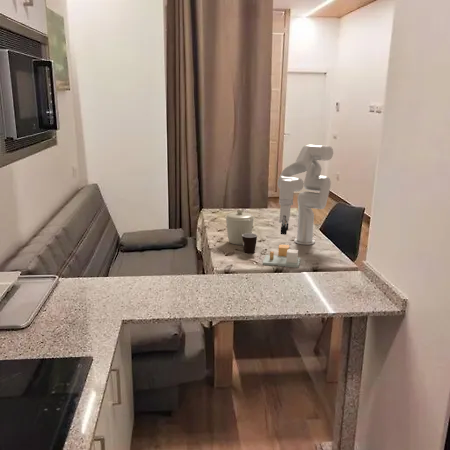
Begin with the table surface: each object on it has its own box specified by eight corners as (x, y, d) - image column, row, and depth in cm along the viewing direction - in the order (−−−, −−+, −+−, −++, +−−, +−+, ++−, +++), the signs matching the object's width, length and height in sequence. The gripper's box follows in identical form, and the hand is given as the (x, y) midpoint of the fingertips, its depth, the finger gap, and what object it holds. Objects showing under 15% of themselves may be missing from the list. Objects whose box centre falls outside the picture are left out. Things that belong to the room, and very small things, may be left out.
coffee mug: (255, 254, 253) (256, 237, 251) (240, 253, 255) (240, 236, 252) (258, 248, 264) (258, 232, 262) (243, 247, 266) (244, 231, 263)
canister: (220, 244, 271) (220, 210, 265) (230, 236, 287) (231, 204, 282) (248, 248, 264) (249, 213, 259) (257, 240, 281) (258, 207, 275)
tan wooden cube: (279, 253, 256) (279, 244, 254) (289, 254, 255) (289, 245, 253) (278, 256, 251) (278, 247, 249) (288, 257, 249) (288, 248, 248)
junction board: (265, 256, 250) (266, 245, 249) (300, 259, 246) (300, 248, 245) (262, 264, 238) (262, 252, 236) (298, 267, 234) (299, 255, 232)
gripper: (280, 198, 253) (279, 227, 258) (277, 204, 237) (275, 235, 241) (294, 199, 252) (292, 228, 256) (291, 205, 235) (289, 236, 240)
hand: (284, 232), depth 249 cm, fingers open, 9 cm apart
